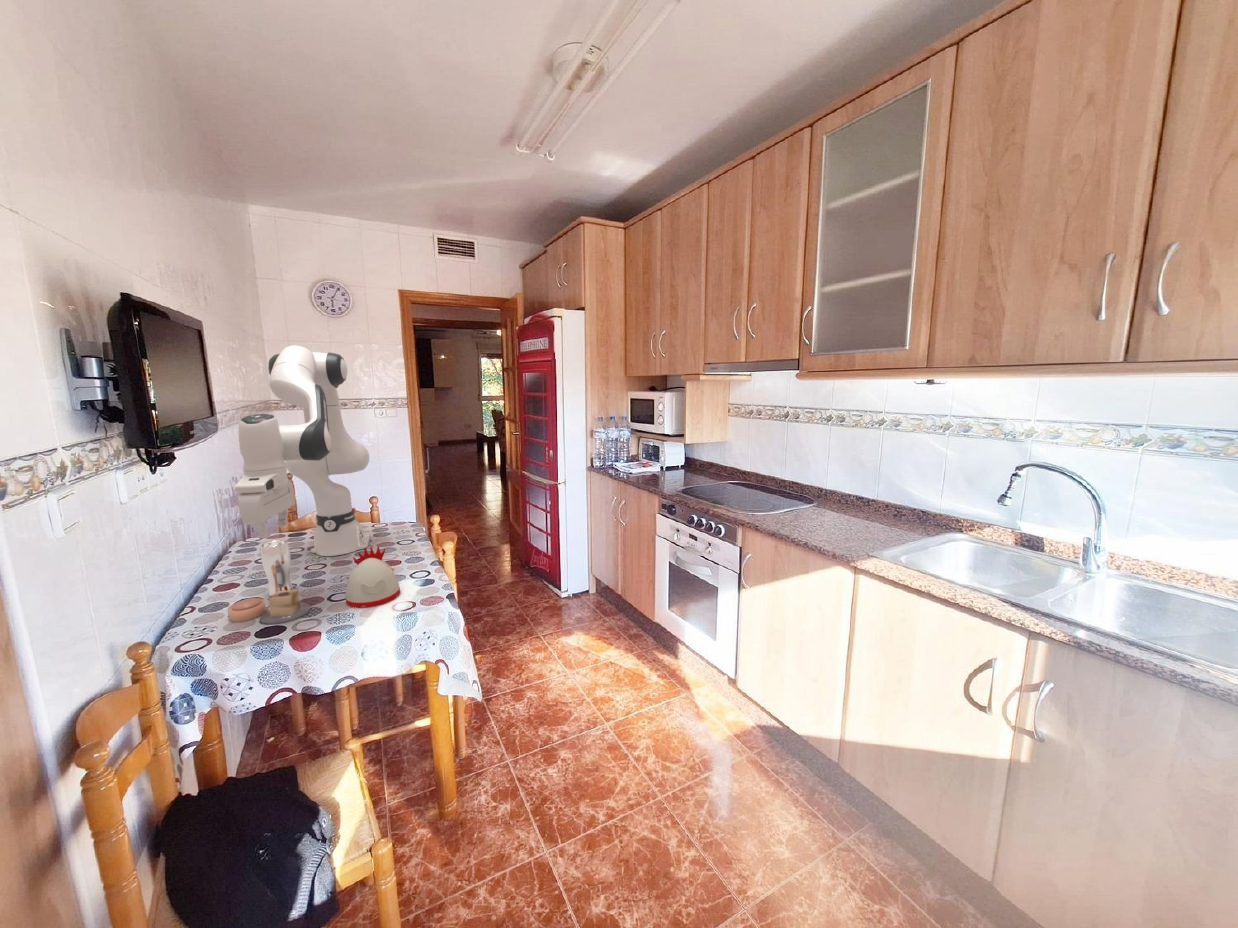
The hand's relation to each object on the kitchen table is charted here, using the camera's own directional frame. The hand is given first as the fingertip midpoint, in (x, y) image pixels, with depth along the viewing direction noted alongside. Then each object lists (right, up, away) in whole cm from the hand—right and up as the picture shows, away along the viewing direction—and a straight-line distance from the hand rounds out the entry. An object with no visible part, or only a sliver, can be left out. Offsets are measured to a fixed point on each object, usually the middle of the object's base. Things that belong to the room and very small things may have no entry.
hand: (274, 531), depth 127 cm
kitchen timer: (+19, -21, +14) cm, 31 cm away
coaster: (0, -23, +4) cm, 23 cm away
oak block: (0, -22, +4) cm, 22 cm away
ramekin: (-10, -23, +4) cm, 25 cm away
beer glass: (-11, -21, +18) cm, 29 cm away
